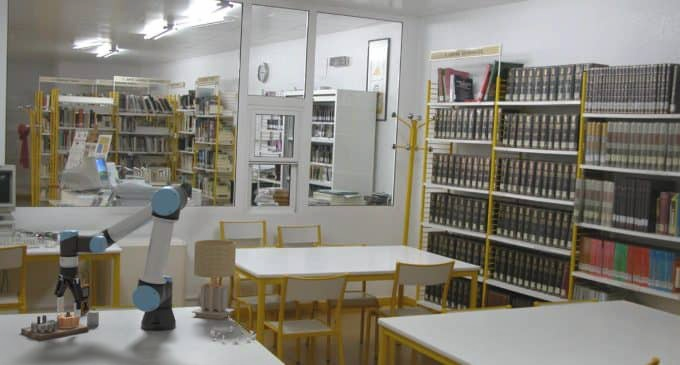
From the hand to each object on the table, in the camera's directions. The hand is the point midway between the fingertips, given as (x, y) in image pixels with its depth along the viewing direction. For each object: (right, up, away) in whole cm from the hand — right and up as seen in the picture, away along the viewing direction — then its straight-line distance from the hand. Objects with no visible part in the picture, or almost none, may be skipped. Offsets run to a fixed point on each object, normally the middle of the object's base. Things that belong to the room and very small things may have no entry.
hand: (68, 314), depth 326 cm
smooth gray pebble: (+7, -7, +10) cm, 14 cm away
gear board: (-4, -7, -4) cm, 9 cm away
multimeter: (-2, -5, +33) cm, 33 cm away
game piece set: (+72, -10, -4) cm, 73 cm away
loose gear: (0, -5, 0) cm, 5 cm away
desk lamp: (+57, -7, +36) cm, 68 cm away
